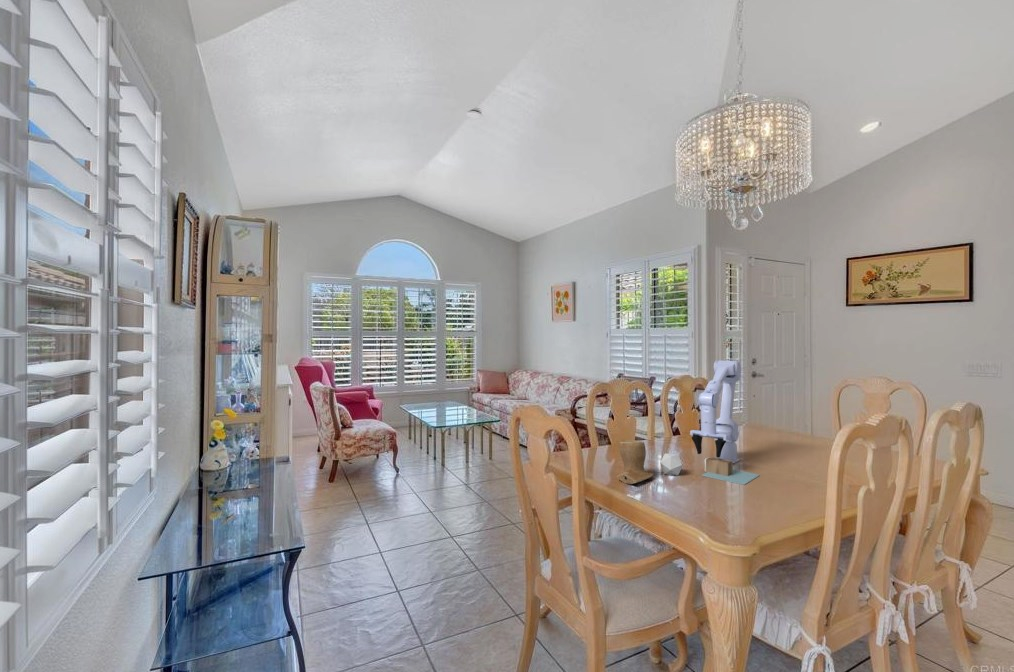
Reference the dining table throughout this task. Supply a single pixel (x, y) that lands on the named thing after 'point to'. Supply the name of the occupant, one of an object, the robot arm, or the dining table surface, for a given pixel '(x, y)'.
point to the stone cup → (633, 462)
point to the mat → (734, 477)
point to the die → (671, 464)
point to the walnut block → (719, 466)
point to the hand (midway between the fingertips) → (708, 455)
